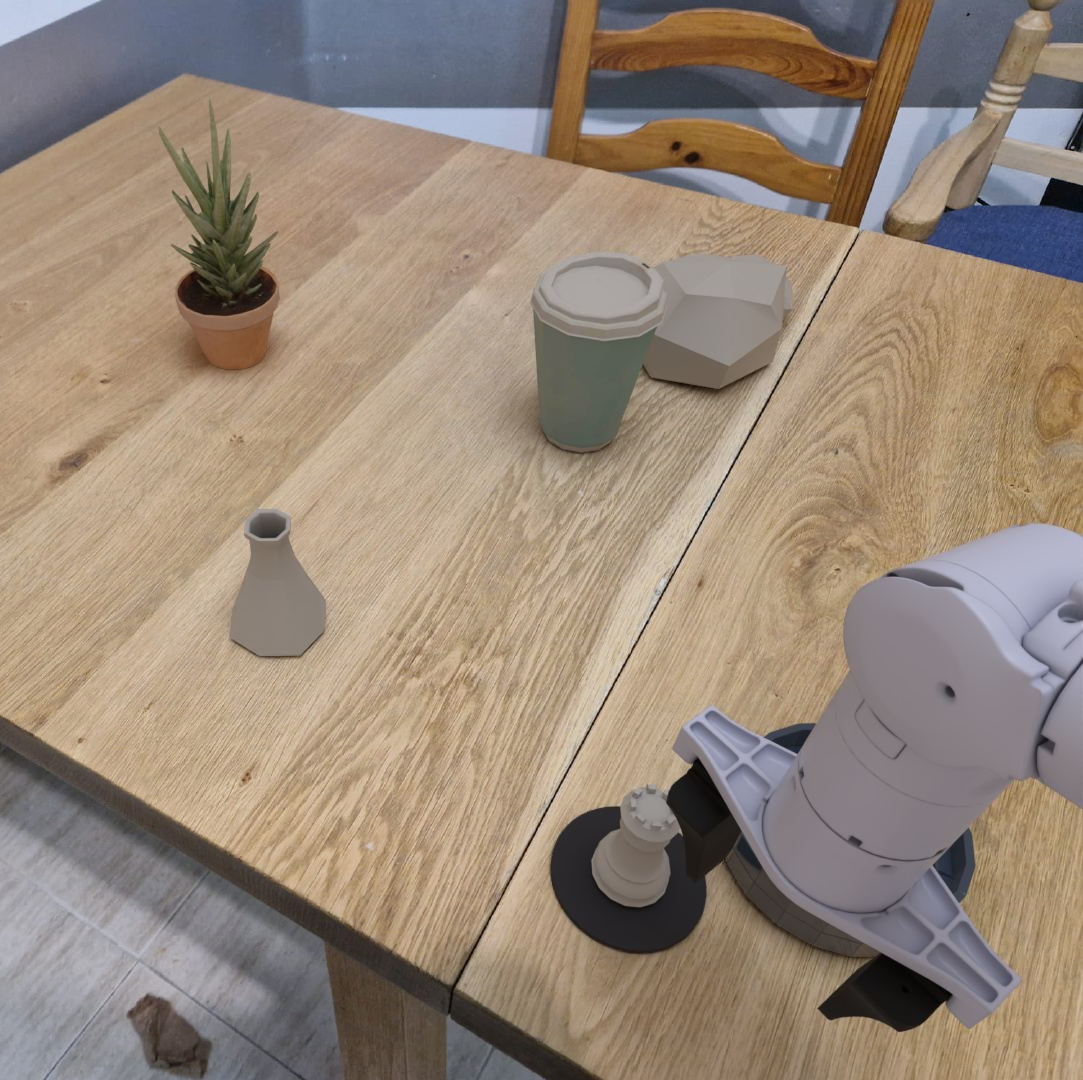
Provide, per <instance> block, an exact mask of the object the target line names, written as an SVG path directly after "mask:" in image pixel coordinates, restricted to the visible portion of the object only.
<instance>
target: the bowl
mask: <svg viewBox="0 0 1083 1080" xmlns="http://www.w3.org/2000/svg"><path fill="white" fill-rule="evenodd" d="M816 723H817V722H799V723H795V724H792V725H789V726H786V727H782V728H779V729H775V730H773V731H770V732H768V733H767V734H765V735H764V736H763V737H764V738H766V739H768V740H770V741H772V742H774V743H776V744H778V745H780V746H782V747H784V748H786V749H788V750H790V751H792V752H794V753H796V754H798V753H799V751H800V750H801V748H802V746H803V745H804V743H805V741H806V739H807V738H808V736H809V735H810V733H811V731H812V730H813V728H814V727H815V725H816ZM973 836H974V835H973V833H972V831H971V829H970V827H969V828H968V829H967V830H966V831H965V832H964V833H963V834H962V835H961V836H960V837H959V838H958V839H957V840H956V841H955V842H954V843H953V844H952V846H951V847H950V848H949V849H948V850H947V851H946V852H945V853H944V854H943V855H942V856H941V857H940V858H939V859H938V860H937V861H936V862H935V863H934V864H933V867H934V868H935V870H936V871H937V872H938V874H939V875H940V877H941V878H942V880H943V881H944V883H945V884H946V885H947V887H948V888H949V890H950V891H951V893H952V894H953V895H954V897H955V898H956V900H957V901H958V903H959V904H961V902H963V901H964V899H966V897H967V895H968V892H969V889H970V886H971V884H972V879H973V877H974V873H975V871H976V865H977V864H976V856H975V846H974V838H973ZM724 860H725V863H726V864H727V865H726V866H727V867H728V869H729V871H730V872H731V874H732V875H733V877H734V878H735V880H736V882H737V884H738V885H739V887H740V889H741V890H742V891H743V894H744V895H745V896H746V897H747V898H748V900H750V901H751V902H752V903H753V904H754V906H756V907H757V908H758V909H759V910H760V911H761V912H762V913H763V914H764V915H765V916H766V917H767V918H769V920H770V921H771V922H773V924H776V926H777V927H779V928H781V929H782V930H785V931H787V932H788V933H790V934H792V935H793V936H794V937H796V938H798V939H800V940H802V941H803V942H804V943H806V944H809V945H811V946H813V947H816V948H819V949H823V950H826V951H828V952H829V951H830V952H833V953H836V954H840V955H843V956H847V957H851V958H860V957H861V958H871V957H872V958H874V957H875V956H877V955H878V954H880V953H881V952H879V951H878V950H876V949H874V948H872V947H870V946H869V945H867V944H865V943H863V942H861V941H860V940H858V939H856V938H854V937H852V936H851V935H849V934H847V933H845V932H843V931H842V930H840V929H838V928H836V927H834V926H833V925H831V924H829V923H827V922H825V921H824V920H822V919H820V918H818V917H816V916H815V915H813V914H811V913H809V912H807V911H806V910H804V909H803V908H801V907H800V906H798V905H796V904H795V903H794V902H793V901H791V900H790V899H789V898H788V897H786V896H785V895H784V894H783V893H782V892H781V891H780V890H779V889H778V888H777V887H776V885H775V884H774V883H773V882H772V881H771V879H770V878H769V876H768V875H767V873H766V872H765V870H764V869H763V867H762V865H761V864H760V862H759V860H758V858H757V857H756V855H755V853H754V851H753V850H752V848H751V846H750V844H749V843H748V841H747V839H746V837H745V836H744V834H743V832H742V831H741V833H740V835H739V837H738V839H737V841H736V843H735V845H734V847H733V848H732V850H731V851H730V853H729V854H728V855H727V856H726V858H725V859H724Z"/></svg>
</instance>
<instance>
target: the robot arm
mask: <svg viewBox="0 0 1083 1080" xmlns="http://www.w3.org/2000/svg"><path fill="white" fill-rule="evenodd" d="M842 627H843V628H842V638H843V639H842V640H843V649H844V654H845V658H846V661H847V662H846V663H847V665H848V668H849V670H848V672H847V673H846V675H845V676H844V678H843V680H842V681H841V683H840V684H839V686H838V688H837V690H836V691H835V693H834V694H833V696H832V698H831V699H830V701H829V703H827V706H826V707H825V709H824V711H823V712H822V714H821V715H820V717H819V719H818V720H817V722H815V723H816V725H815V727H814V728H813V730H812V731H811V733H810V735H809V736H808V738H807V739H806V741H805V743H804V745H803V746H802V748H801V750H800V751H799V753H798V754H796V753H794V752H792V751H790V750H788V749H786V748H784V747H782V746H780V745H778V744H776V743H774V742H772V741H770V740H768V739H766V738H764V736H762V735H760V734H758V733H756V732H754V731H752V730H750V729H748V728H746V727H745V726H742V725H741V724H739V723H737V722H736V721H734V720H733V719H732V718H730V717H728V716H727V714H725V713H724V712H722V711H721V710H720V709H719V708H717V707H716V706H715V705H713V704H710V705H708V706H707V707H706V708H704V709H703V710H702V711H701V712H699V713H698V714H696V715H695V716H694V717H693V718H691V719H689V720H688V721H687V722H686V723H684V724H683V725H682V726H681V728H680V730H679V732H678V734H677V736H676V739H675V741H674V744H673V746H672V751H673V752H674V753H675V754H676V755H677V756H678V757H679V758H681V759H682V761H684V763H687V764H690V765H691V767H689V768H688V769H687V771H686V773H685V774H683V775H682V776H681V777H679V778H678V779H677V780H676V781H674V782H673V783H672V784H671V786H670V788H669V790H668V791H669V792H668V796H667V800H666V804H667V805H668V806H669V808H670V809H671V810H672V812H673V814H674V815H675V817H676V819H677V821H678V823H679V826H680V831H681V835H682V836H683V839H684V845H685V853H686V875H687V876H688V877H689V878H690V879H691V880H692V881H693V882H694V883H695V884H696V883H697V882H698V881H699V880H701V879H702V878H703V877H704V876H705V877H706V876H707V875H709V873H710V872H711V871H713V870H714V869H715V868H716V867H718V866H719V865H720V864H721V863H723V861H725V860H726V859H725V858H726V856H727V855H728V854H729V853H730V851H731V850H732V848H733V847H734V845H735V843H736V841H737V839H738V837H739V835H740V833H741V831H742V832H743V834H744V836H745V837H746V839H747V841H748V843H749V844H750V846H751V848H752V850H753V851H754V853H755V855H756V857H757V858H758V860H759V862H760V864H761V865H762V867H763V869H764V870H765V872H766V873H767V875H768V876H769V878H770V879H771V881H772V882H773V883H774V884H775V885H776V887H777V888H778V889H779V890H780V891H781V892H782V893H783V894H784V895H785V896H786V897H788V898H789V899H790V900H791V901H793V902H794V903H795V904H796V905H798V906H800V907H801V908H803V909H804V910H806V911H807V912H809V913H811V914H813V915H815V916H816V917H818V918H820V919H822V920H824V921H825V922H827V923H829V924H831V925H833V926H834V927H836V928H838V929H840V930H842V931H843V932H845V933H847V934H849V935H851V936H852V937H854V938H856V939H858V940H860V941H861V942H863V943H865V944H867V945H869V946H870V947H872V948H874V949H876V950H878V951H879V952H881V953H880V954H878V955H877V956H875V957H872V958H871V959H869V960H868V961H867V962H865V963H864V964H863V965H861V966H859V967H858V968H857V969H856V970H855V971H854V972H853V973H851V974H850V976H848V978H847V979H846V980H844V981H843V982H842V983H841V984H840V985H839V987H837V988H836V989H835V990H834V992H832V993H831V994H830V995H829V996H828V997H827V998H826V999H825V1000H824V1001H823V1002H822V1003H821V1004H820V1005H818V1007H817V1008H816V1009H817V1010H818V1011H819V1012H820V1013H821V1014H822V1015H823V1017H825V1018H826V1019H827V1020H828V1021H834V1020H838V1019H842V1018H843V1019H844V1018H867V1019H872V1020H874V1021H877V1022H880V1023H882V1024H884V1025H887V1026H888V1027H890V1028H892V1029H893V1030H894V1031H896V1032H897V1033H902V1032H903V1033H904V1032H907V1031H910V1030H914V1029H916V1028H918V1027H920V1026H922V1024H924V1023H925V1022H926V1021H928V1019H930V1017H931V1016H932V1015H934V1013H935V1012H936V1011H937V1010H938V1009H939V1008H940V1007H941V1006H942V1005H943V1004H944V1003H945V1007H946V1009H947V1010H948V1012H949V1013H950V1014H951V1015H953V1017H955V1018H956V1019H957V1020H958V1021H959V1022H960V1023H961V1024H962V1025H963V1026H964V1027H966V1029H969V1030H970V1029H972V1028H974V1027H975V1026H976V1025H978V1024H979V1023H980V1022H982V1021H984V1020H985V1019H987V1018H988V1017H989V1016H991V1015H992V1014H994V1013H995V1011H997V1009H998V1008H1000V1006H1001V1005H1002V1004H1004V1002H1005V1001H1006V999H1007V998H1009V996H1010V995H1011V994H1012V993H1013V992H1014V990H1016V988H1018V986H1019V985H1020V984H1021V983H1022V982H1023V979H1022V978H1021V976H1019V975H1018V974H1017V973H1016V972H1015V971H1014V970H1013V968H1011V967H1010V966H1009V965H1008V964H1007V963H1006V962H1005V961H1004V960H1003V959H1002V958H1001V957H1000V956H999V955H998V954H997V953H996V952H995V951H994V949H993V948H992V947H991V946H990V944H989V943H988V942H987V941H986V939H985V938H984V937H983V935H982V934H981V933H980V932H979V930H978V929H977V927H976V925H975V924H974V923H973V922H972V920H971V919H970V917H969V916H968V914H967V912H966V911H965V910H964V908H963V907H962V905H961V903H958V901H957V900H956V898H955V897H954V895H953V894H952V893H951V891H950V890H949V888H948V887H947V885H946V884H945V883H944V881H943V880H942V878H941V877H940V875H939V874H938V872H937V871H936V870H935V868H934V867H933V864H934V863H935V862H936V861H937V860H938V859H939V858H940V857H941V856H942V855H943V854H944V853H945V852H946V851H947V850H948V849H949V848H950V847H951V846H952V844H953V843H954V842H955V841H956V840H957V839H958V838H959V837H960V836H961V835H962V834H963V833H964V832H965V831H966V830H967V829H968V828H970V826H971V825H973V824H974V823H975V821H976V820H978V818H980V817H981V815H982V814H984V812H986V810H987V809H988V808H989V807H990V806H991V805H992V804H993V803H994V802H996V800H997V799H998V798H999V797H1000V796H1001V795H1002V794H1003V793H1004V791H1005V790H1007V789H1008V788H1009V786H1010V785H1011V784H1013V782H1014V781H1015V780H1016V781H1018V782H1024V781H1026V780H1028V779H1030V778H1031V779H1032V780H1036V781H1038V782H1040V783H1041V784H1043V785H1044V786H1046V787H1047V788H1048V789H1050V790H1052V791H1054V792H1055V793H1057V794H1058V795H1059V796H1061V797H1063V798H1064V799H1065V800H1067V801H1068V802H1070V803H1071V804H1073V805H1075V806H1076V807H1077V808H1079V809H1081V810H1082V811H1083V535H1081V534H1079V533H1078V532H1076V531H1073V530H1070V529H1067V528H1065V527H1062V526H1059V525H1053V524H1050V523H1049V524H1048V523H1044V522H1029V523H1028V524H1024V525H1020V523H1017V524H1014V525H1011V526H1009V527H1005V528H1004V529H1000V530H998V531H995V532H992V533H990V534H987V535H985V536H981V537H979V538H976V539H973V540H971V541H968V542H966V543H963V544H960V545H958V546H957V545H956V546H955V547H952V548H949V549H947V550H943V551H941V552H938V553H935V554H933V555H931V556H928V557H926V558H922V559H920V560H917V561H915V562H911V563H909V564H906V565H903V566H901V567H898V568H895V569H892V570H889V571H888V572H885V573H884V574H882V575H881V576H880V577H878V578H876V579H873V580H871V581H869V582H867V583H865V584H864V585H863V586H861V587H860V588H858V590H857V591H856V592H855V593H854V594H853V596H852V598H851V599H850V601H849V603H848V605H847V608H846V610H845V614H844V620H843V626H842Z"/></svg>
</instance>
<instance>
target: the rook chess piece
mask: <svg viewBox="0 0 1083 1080" xmlns="http://www.w3.org/2000/svg"><path fill="white" fill-rule="evenodd" d="M657 787H658V785H657V784H652V783H651V784H650V783H647V785H646V787H643V786H642V787H640V786H638V787H637V788H636V789H635V788H634V789H632V790H630V791H629V792H628V793H627V794H626V795H624V796H623V799H622V801H621V803H620V809H621V820H620V829H618V830H615V831H611V832H610V833H609V834H608V835H607V836H606V837H604V838H603V839H602V840H601V841H600V842H599V845H598V847H597V848H596V850H595V853H594V855H593V858H592V860H591V861H592V874H593V876H594V879H595V881H596V883H597V885H598V887H599V888H600V889H601V890H602V891H603V892H604V893H605V894H606V895H607V896H608V897H609V898H610V899H612V900H614V901H616V902H618V903H620V904H622V905H625V906H633V907H643V906H646V905H649V904H653V903H655V902H656V901H657V900H658V899H659V898H660V897H661V896H662V895H663V894H664V893H665V890H666V887H667V884H668V881H669V877H670V874H671V873H670V865H669V857H668V855H667V853H666V851H665V850H664V847H665V846H667V845H668V844H669V842H670V839H672V838H673V837H674V836H675V835H676V834H677V833H678V832H679V833H680V831H681V828H680V826H679V823H678V821H677V819H676V817H675V815H674V814H673V812H672V810H671V809H670V808H669V806H668V805H667V804H666V800H667V796H668V792H669V790H668V789H667V788H665V789H664V791H662V790H660V789H658V788H657Z"/></svg>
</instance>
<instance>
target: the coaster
mask: <svg viewBox="0 0 1083 1080" xmlns="http://www.w3.org/2000/svg"><path fill="white" fill-rule="evenodd" d="M620 806H621V805H620ZM620 806H618V805H617V806H616V805H615V806H603V807H597V808H594V809H591V810H588V811H586V812H584V813H581V814H580V815H578V816H576V817H575V818H574V819H572V820H571V821H570V822H569V823H568V824H566V826H565V827H564V828H563V829H562V830H561V832H560V834H559V836H558V837H557V839H556V841H555V843H554V846H553V849H552V853H551V857H550V879H551V885H552V889H553V891H554V895H555V896H556V900H557V901H558V903H559V906H560V907H561V909H562V910H563V911H564V913H565V914H566V917H568V918H569V920H570V921H571V922H572V923H573V924H574V925H575V926H576V927H577V928H578V929H579V930H580V931H581V932H582V933H584V934H585V935H586V936H588V937H589V938H591V939H592V940H593V941H595V942H598V943H599V944H601V945H603V946H605V947H607V948H611V949H613V950H616V951H619V952H625V953H630V954H652V953H658V952H662V951H666V950H668V949H670V948H672V947H675V946H677V945H678V944H679V943H681V942H683V941H684V940H685V939H687V937H688V936H690V934H691V933H692V932H693V931H694V930H695V928H696V927H697V925H698V924H699V922H700V920H701V918H702V916H703V914H704V910H705V906H706V903H707V880H706V875H705V876H704V877H703V878H702V879H701V880H699V881H698V882H697V883H696V884H695V883H694V882H693V881H692V880H691V879H690V878H689V877H688V876H687V875H686V853H685V845H684V839H683V835H682V833H680V831H679V832H678V833H677V834H676V835H675V836H674V837H673V838H672V839H670V842H669V844H668V845H667V846H665V847H664V850H665V851H666V853H667V855H668V857H669V865H670V873H671V874H670V877H669V881H668V884H667V887H666V890H665V893H664V894H663V895H662V896H661V897H660V898H659V899H658V900H657V901H656V902H655V903H653V904H649V905H646V906H643V907H633V906H625V905H622V904H620V903H618V902H616V901H614V900H612V899H610V898H609V897H608V896H607V895H606V894H605V893H604V892H603V891H602V890H601V889H600V888H599V887H598V885H597V883H596V881H595V879H594V876H593V874H592V861H591V860H592V858H593V855H594V853H595V850H596V848H597V847H598V845H599V842H600V841H601V840H602V839H603V838H604V837H606V836H607V835H608V834H609V833H610V832H611V831H615V830H618V829H620V820H621V809H620Z"/></svg>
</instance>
